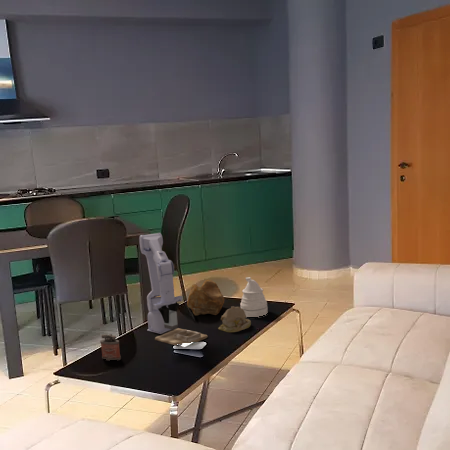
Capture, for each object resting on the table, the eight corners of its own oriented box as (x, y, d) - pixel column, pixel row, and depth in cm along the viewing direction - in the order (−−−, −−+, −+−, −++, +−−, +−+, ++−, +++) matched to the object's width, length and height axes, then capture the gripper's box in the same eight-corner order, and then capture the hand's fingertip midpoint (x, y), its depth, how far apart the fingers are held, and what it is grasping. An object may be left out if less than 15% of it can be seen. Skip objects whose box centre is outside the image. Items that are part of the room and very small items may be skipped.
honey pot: (248, 319, 259) (245, 282, 256) (236, 312, 270) (234, 276, 268) (272, 314, 264) (270, 277, 261) (260, 308, 275) (257, 272, 273)
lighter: (122, 357, 222) (120, 333, 221) (118, 361, 219) (115, 336, 218) (104, 356, 225) (102, 332, 223) (100, 359, 222) (97, 335, 220)
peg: (172, 329, 231) (171, 313, 230) (164, 327, 234) (163, 311, 233) (177, 327, 233) (176, 311, 232) (169, 325, 236) (168, 309, 235)
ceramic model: (227, 334, 241) (225, 312, 240) (214, 328, 251) (213, 306, 249) (254, 327, 248) (253, 305, 246) (241, 321, 257) (239, 300, 256)
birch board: (155, 339, 240) (154, 333, 240) (178, 330, 251) (177, 323, 250) (184, 347, 228) (183, 340, 228) (207, 337, 239) (207, 330, 238)
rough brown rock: (213, 322, 261) (213, 291, 258) (182, 317, 268) (182, 286, 265) (234, 309, 281) (234, 280, 279) (204, 304, 288) (205, 276, 286)
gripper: (160, 295, 224) (163, 328, 226) (186, 287, 234) (188, 318, 236) (148, 293, 228) (151, 325, 230) (174, 285, 239) (177, 315, 241)
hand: (169, 321), depth 234 cm, fingers closed on peg, 3 cm apart
